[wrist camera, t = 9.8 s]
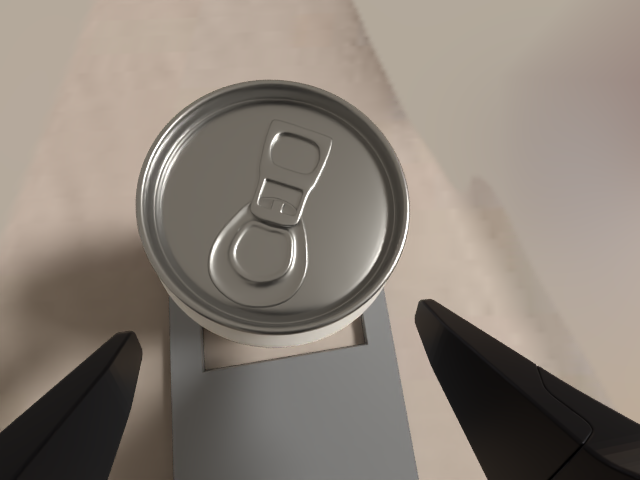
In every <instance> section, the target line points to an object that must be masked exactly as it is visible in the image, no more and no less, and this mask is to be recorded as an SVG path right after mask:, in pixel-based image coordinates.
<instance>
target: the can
mask: <svg viewBox="0 0 640 480" xmlns="http://www.w3.org/2000/svg"><path fill="white" fill-rule="evenodd" d="M409 217H410V203H409V193H408V187H407V183H406V179H405V175H404V172H403V169H402V166H401V164H400V162H399V159H398V157H397V155H396V153H395V151H394V150H393V148H392V146H391V145H390V143H389V141H388V140H387V139H386V137H385V136H384V134H383V133H382V132H381V131H380V130H379V128H378V127H377V126H376V125H375V124H374V123H373V122H372V121H371V120H370V119H369V118H368V117H367V116H366V115H365V114H363V113H362V112H361V111H360V110H358V109H357V108H356V107H354V106H353V105H351V104H350V103H348V102H347V101H345V100H343V99H342V98H340V97H338V96H336V95H334V94H332V93H330V92H327V91H325V90H322V89H320V88H317V87H314V86H310V85H307V84H303V83H298V82H292V81H284V80H256V81H248V82H242V83H238V84H233V85H230V86H226V87H223V88H221V89H218V90H215V91H213V92H211V93H209V94H207V95H205V96H203V97H201V98H199V99H197V100H196V101H194V102H193V103H191V104H190V105H188V106H187V107H185V108H184V109H183V110H182V111H180V112H179V113H178V114H177V115H176V116H175V117H174V118H173V119H172V120H171V121H170V122H169V123H168V124H167V125H166V126H165V127H164V128H163V130H162V131H161V132H160V134H159V135H158V136H157V138H156V139H155V141H154V142H153V144H152V146H151V148H150V149H149V151H148V153H147V156H146V158H145V160H144V163H143V165H142V168H141V172H140V175H139V179H138V184H137V191H136V219H137V226H138V231H139V235H140V239H141V242H142V245H143V248H144V250H145V253H146V255H147V257H148V259H149V261H150V263H151V265H152V267H153V268H154V270H155V272H156V273H157V275H158V277H159V279H160V281H161V283H162V284H163V286H164V288H165V289H166V291H167V292H168V294H169V295H170V297H171V298H172V299H173V300H174V302H175V303H176V304H177V305H178V306H179V307H180V308H181V309H182V310H183V311H184V312H185V313H186V314H187V315H188V316H189V317H190V318H191V319H193V320H194V321H195V322H197V323H198V324H199V325H201V326H202V327H204V328H206V329H207V330H209V331H211V332H213V333H215V334H217V335H219V336H221V337H223V338H226V339H228V340H231V341H234V342H237V343H241V344H245V345H250V346H256V347H266V348H282V347H293V346H299V345H303V344H308V343H311V342H314V341H317V340H320V339H323V338H325V337H328V336H330V335H332V334H334V333H336V332H338V331H339V330H341V329H343V328H344V327H346V326H347V325H349V324H350V323H352V322H353V321H354V320H355V319H357V318H358V317H359V316H360V315H361V314H362V313H363V312H364V311H365V310H366V309H367V308H368V307H369V306H370V305H371V304H372V303H373V301H374V300H375V299H376V298H377V296H378V295H379V293H380V292H381V290H382V289H383V287H384V285H385V283H386V281H387V280H388V278H389V277H390V275H391V273H392V272H393V270H394V268H395V267H396V265H397V263H398V261H399V258H400V256H401V254H402V251H403V248H404V245H405V241H406V238H407V233H408V227H409Z"/></svg>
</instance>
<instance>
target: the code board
mask: <svg viewBox="0 0 640 480" xmlns="http://www.w3.org/2000/svg"><path fill="white" fill-rule="evenodd" d="M169 320H170V358H171V396H172V435H173V473H174V480H419V478H418V472H417V467H416V461H415V456H414V451H413V445H412V440H411V434H410V429H409V423H408V418H407V413H406V407H405V402H404V396H403V391H402V385H401V380H400V375H399V369H398V364H397V358H396V353H395V347H394V342H393V337H392V331H391V326H390V320H389V315H388V309H387V304H386V299H385V293H384V288H383V289H382V290H381V292H380V293H379V295H378V296H377V298H376V299H375V300H374V301H373V303H372V304H371V305H370V306H369V307H368V308H367V309H366V310H365V311H364V312H363V313H362V314H361V320H362V326H363V332H364V339H365V344H360V345H354V346H348V347H342V348H336V349H330V350H324V351H318V352H312V353H306V354H300V355H294V356H288V357H283V358H277V359H271V360H265V361H259V362H253V363H247V364H241V365H235V366H229V367H223V368H217V369H211V370H205V366H204V346H203V327H202V326H201V325H199V324H198V323H197V322H195V321H194V320H193V319H191V318H190V317H189V316H188V315H187V314H186V313H185V312H184V311H183V310H182V309H181V308H180V307H179V306H178V305H177V304H176V303H175V302H174V300H173V299H172V298H171V297H170V295H169Z"/></svg>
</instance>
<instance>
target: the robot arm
mask: <svg viewBox="0 0 640 480" xmlns="http://www.w3.org/2000/svg"><path fill="white" fill-rule="evenodd" d="M415 324H416V327H417V330H418V332H419V335H420V338H421V340H422V343H423V346H424V348H425V351H426V354H427V356H428V359H429V361H430V364H431V366H432V368H433V371H434V373H435V375H436V377H437V379H438V381H439V383H440V385H441V387H442V389H443V391H444V393H445V395H446V397H447V399H448V401H449V403H450V405H451V407H452V409H453V411H454V413H455V415H456V417H457V419H458V421H459V423H460V425H461V427H462V429H463V431H464V433H465V435H466V437H467V439H468V441H469V443H470V445H471V447H472V449H473V451H474V453H475V455H476V457H477V459H478V461H479V463H480V465H481V467H482V469H483V471H484V473H485V475H486V477H487V479H488V480H640V424H638V423H636V422H634V421H633V420H631V419H629V418H627V417H625V416H624V415H622V414H620V413H618V412H616V411H615V410H613V409H611V408H609V407H607V406H605V405H604V404H602V403H600V402H598V401H596V400H595V399H593V398H591V397H589V396H588V395H586V394H584V393H582V392H581V391H579V390H577V389H575V388H574V387H572V386H570V385H569V384H567V383H565V382H564V381H562V380H560V379H559V378H557V377H555V376H554V375H552V374H551V373H549V372H547V371H546V370H544V369H543V368H541V367H539V366H536V364H535V363H533V362H531V361H530V360H528V359H527V358H525V357H523V356H522V355H520V354H519V353H517V352H515V351H514V350H512V349H511V348H509V347H507V346H506V345H504V344H503V343H501V342H500V341H498V340H496V339H495V338H493V337H492V336H490V335H488V334H487V333H485V332H484V331H482V330H480V329H479V328H477V327H476V326H474V325H473V324H471V323H469V322H468V321H466V320H465V319H463V318H461V317H460V316H458V315H457V314H455V313H453V312H452V311H450V310H449V309H447V308H445V307H444V306H442V305H441V304H439V303H438V302H436V301H434V300H432V299H425V300H420V301H419V303H418V307H417V311H416V314H415ZM141 361H142V348H141V346H140V343H139V341H138V338H137V336H136V334H135V333H134V332H133V331H126V332H119V333H117V334H115V335H114V336H113V337H111V338H110V339H109V340H108V341H107V342H106V343H104V344H103V345H102V346H101V347H100V348H99V349H97V350H96V351H95V352H94V353H93V354H92V355H90V356H89V357H88V358H87V359H86V360H85V361H83V362H82V363H81V364H80V365H79V366H78V367H76V368H75V369H74V370H73V371H72V372H71V373H69V374H68V375H67V376H66V377H65V378H64V379H62V380H61V381H60V382H59V383H58V384H57V385H55V386H54V387H53V388H52V389H51V390H50V391H48V392H47V393H46V394H45V395H44V396H43V397H41V398H40V399H39V400H38V401H37V402H36V403H34V404H33V405H32V406H31V407H30V408H29V409H27V410H26V411H25V412H24V413H23V414H22V415H20V416H19V417H18V418H17V419H16V420H14V421H13V422H12V423H11V424H10V425H9V426H7V427H6V428H5V429H4V430H3V431H2V432H0V480H108V477H109V474H110V471H111V468H112V465H113V462H114V459H115V456H116V453H117V450H118V447H119V444H120V441H121V438H122V435H123V432H124V429H125V426H126V423H127V420H128V417H129V413H130V410H131V406H132V402H133V398H134V393H135V388H136V384H137V379H138V375H139V370H140V365H141Z"/></svg>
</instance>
